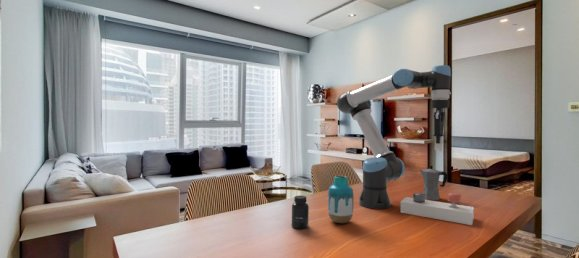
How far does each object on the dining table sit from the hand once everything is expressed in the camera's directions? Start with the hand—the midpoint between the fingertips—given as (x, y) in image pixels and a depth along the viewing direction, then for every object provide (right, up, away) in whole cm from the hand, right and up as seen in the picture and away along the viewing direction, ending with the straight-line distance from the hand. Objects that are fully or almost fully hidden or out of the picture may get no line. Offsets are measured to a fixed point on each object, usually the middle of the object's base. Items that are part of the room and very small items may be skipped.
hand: (438, 150), depth 131 cm
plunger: (-9, -28, 0) cm, 30 cm away
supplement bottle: (-65, -30, -18) cm, 74 cm away
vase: (-48, -29, -13) cm, 58 cm away
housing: (-4, -29, -5) cm, 29 cm away
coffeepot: (+9, -28, +23) cm, 38 cm away
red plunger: (+2, -26, -9) cm, 28 cm away
